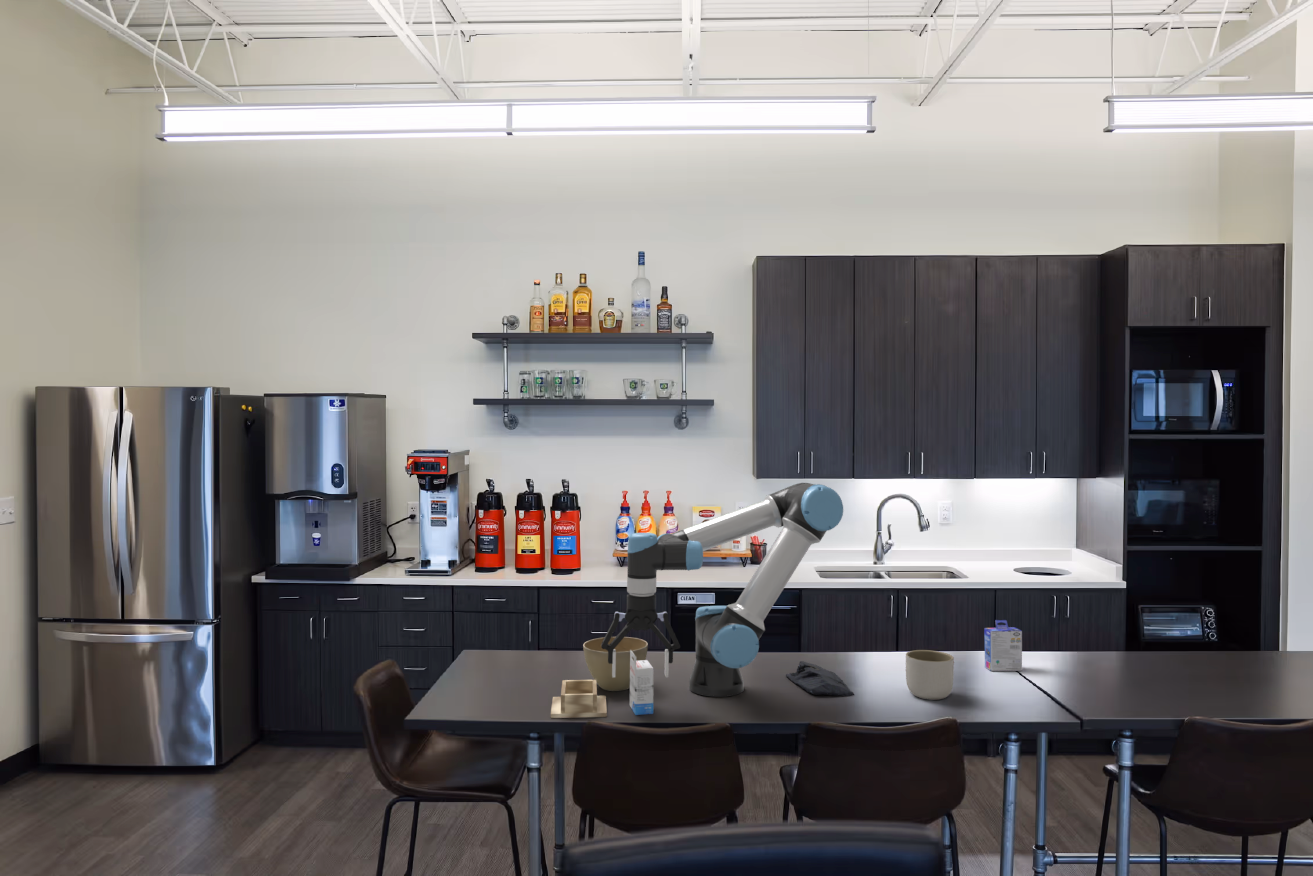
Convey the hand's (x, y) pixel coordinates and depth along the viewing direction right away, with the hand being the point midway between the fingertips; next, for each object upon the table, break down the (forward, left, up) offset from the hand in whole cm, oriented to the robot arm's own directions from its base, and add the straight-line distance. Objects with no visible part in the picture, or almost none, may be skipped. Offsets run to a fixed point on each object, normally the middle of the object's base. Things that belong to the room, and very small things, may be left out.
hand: (640, 676), depth 219 cm
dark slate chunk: (-52, -18, -9) cm, 56 cm away
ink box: (0, 0, -9) cm, 9 cm away
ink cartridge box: (-112, -30, -9) cm, 117 cm away
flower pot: (+6, -20, -9) cm, 23 cm away
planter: (-79, -6, -9) cm, 80 cm away
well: (+16, -2, -9) cm, 18 cm away
